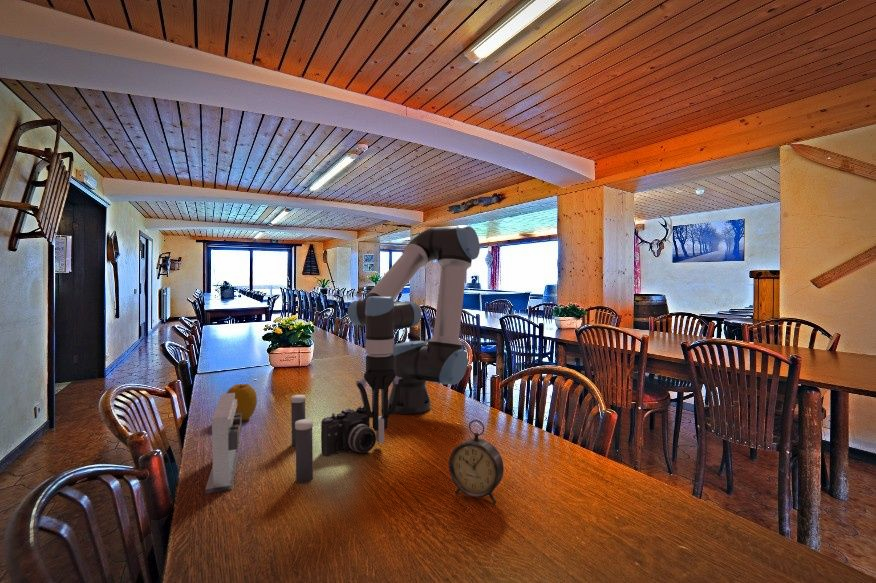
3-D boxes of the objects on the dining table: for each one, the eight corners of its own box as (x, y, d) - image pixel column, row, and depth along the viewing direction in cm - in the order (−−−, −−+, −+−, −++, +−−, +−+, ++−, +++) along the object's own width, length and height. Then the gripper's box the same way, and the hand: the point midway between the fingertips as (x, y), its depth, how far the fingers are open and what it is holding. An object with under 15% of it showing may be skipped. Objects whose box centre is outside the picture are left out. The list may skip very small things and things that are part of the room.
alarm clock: (447, 495, 88) (447, 419, 88) (458, 484, 93) (458, 412, 92) (497, 509, 83) (497, 428, 82) (506, 496, 88) (506, 420, 87)
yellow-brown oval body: (216, 422, 132) (216, 385, 132) (241, 413, 141) (241, 378, 141) (240, 426, 129) (239, 388, 128) (264, 417, 138) (263, 381, 137)
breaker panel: (242, 452, 110) (241, 392, 109) (237, 488, 91) (235, 415, 90) (216, 456, 107) (215, 394, 107) (205, 494, 89) (203, 419, 88)
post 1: (305, 440, 118) (304, 394, 117) (306, 445, 114) (305, 397, 114) (291, 442, 116) (290, 395, 116) (291, 447, 113) (291, 399, 112)
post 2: (312, 474, 98) (311, 418, 97) (314, 481, 94) (313, 423, 94) (295, 477, 96) (294, 420, 96) (296, 484, 93) (295, 425, 92)
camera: (341, 465, 102) (341, 425, 102) (317, 452, 110) (317, 415, 109) (386, 447, 113) (386, 411, 112) (361, 437, 120) (361, 402, 120)
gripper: (399, 350, 118) (399, 433, 119) (352, 353, 113) (353, 440, 114) (407, 354, 111) (407, 443, 112) (358, 358, 106) (358, 450, 107)
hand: (380, 441), depth 113 cm, fingers closed
